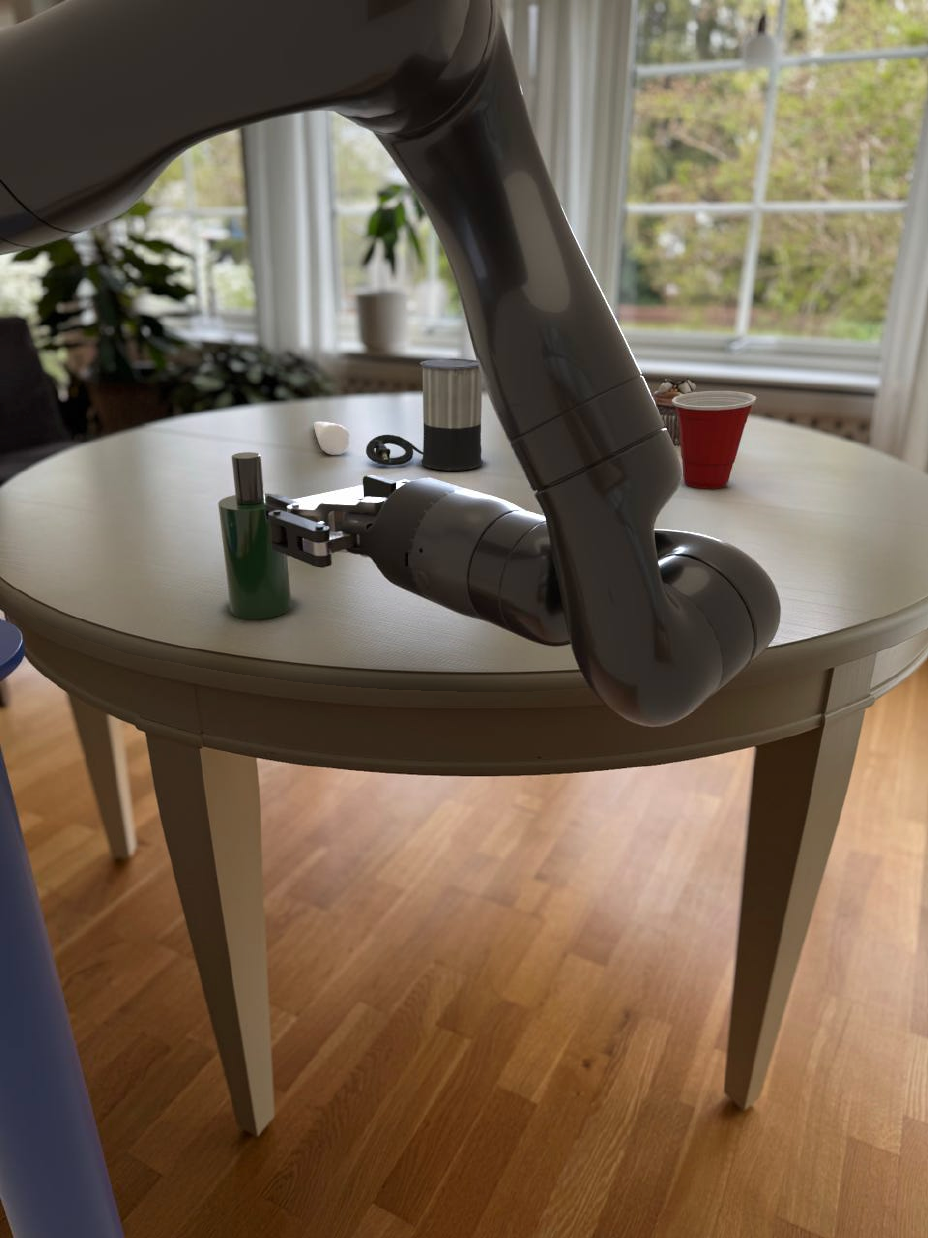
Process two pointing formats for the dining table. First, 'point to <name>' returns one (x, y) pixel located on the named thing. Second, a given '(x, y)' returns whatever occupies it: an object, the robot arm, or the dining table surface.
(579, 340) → the robot arm
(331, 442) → the unicorn horn
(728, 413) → the plastic cup
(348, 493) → the brush
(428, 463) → the milk frother
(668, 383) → the cupcake
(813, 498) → the dining table surface
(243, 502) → the green bottle
